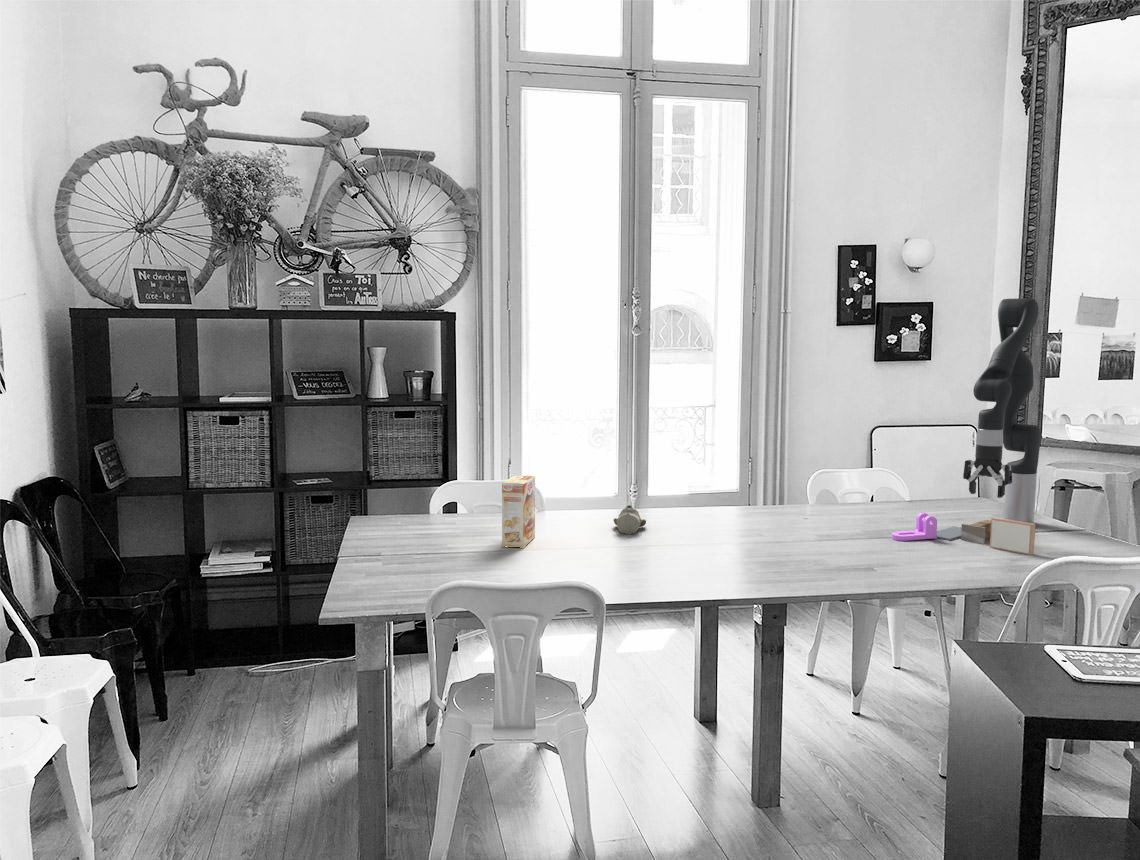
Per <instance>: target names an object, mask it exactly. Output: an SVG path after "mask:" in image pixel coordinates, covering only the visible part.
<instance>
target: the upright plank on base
mask: <svg viewBox="0 0 1140 860" xmlns="http://www.w3.org/2000/svg"><path fill="white" fill-rule="evenodd" d="M990 533H991V520H989V519H983V520H982V521H978V522H974V523H969V524H968V523H962V524H961V538H960V540H961V541H966V542H971V543H976V544H982V545H984V544H985V543H986V541H987V540H990Z"/></svg>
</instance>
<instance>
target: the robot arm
mask: <svg viewBox="0 0 1140 860" xmlns="http://www.w3.org/2000/svg"><path fill="white" fill-rule="evenodd" d="M1038 317H1039V305H1038V301H1036V299H1034V298H1030V297H1029V298H1028V297H1027V298H1026V297H1025V298H1024V297H1023V298H1022V297H1021V298H1004V299H1002V300H1001V301H1000V302H999V304H998V309H997V320H998V327H999V330H998V331H999V336H1000V337H999V338H1000V343H999V344H998V345H997V346H996V348H994V350H993V352H992V355H991V358H990V359H989V362H988V365H987V367H986V368H985V370H984V371H983V372H982V374H981V375H980V376H979V377H978V378H977V380H976V382H975V383H974V386H973V392H972V393H973V395H974V398H975V399H976V400H977V401H980V402H988V403H995V405H994V406H993V408H987V409H982V410H980V411H979V413H978V420H977V421H978V422H977V432H976V439H975V453H974V454H975V455H974V456H975V460H972V459H968V460H965V461H964V466H963V475H962V478H963V479H964V480H967V481H968V482H969V484H968V491H969V493H970V494H971V495H974V494H976V493H977V481H976V480H977V479H978V478H979V477H988V478H993V479H994V480H995V481H996V482H997V484H998V485H997V495H996V496H997V498H998V499H1001V498H1003V497H1004V500H1003V501H1004V503H1003V504H1004V506H1003V518H1002V519H1009V520H1015V521H1021V522H1027V523H1033V524H1035V509H1036V489H1037V474H1038V466H1039V457H1040V447H1041V439H1042V435H1041V433H1042V432H1041V429H1040V427H1039V426H1038V425H1035V424H1025V423H1018V421H1017V419H1018V412H1019V410H1020V408H1021V406H1022V405H1023V403H1024V402H1025V401H1026V399H1027V398H1028V397H1029V395H1030V394H1031V392H1032V390H1033V387H1034V382H1035V381H1034V366H1033V363H1032V361H1031V359H1029V356H1028V355H1027V354H1026V353H1025V351H1024V350H1023V349H1022V348H1023V346H1024V345H1025V343H1026V341H1027V340H1028V337H1029V336H1030V335H1031V333H1032V331H1033V329H1034V327H1035V325H1036V324H1037V320H1038V319H1039V318H1038ZM1014 328H1016V329H1014ZM1003 447H1004V449H1005V450H1007V451H1011V452H1017V453H1018V452H1020V453H1024V454H1023V455H1024V456H1023V457H1022V458H1020V459H1017V460H1014V461H1009V462H1007V463H1006V464H1003V463H1002V460H1003ZM973 467H975V471H973V473H972V469H973ZM1001 470H1002V471H1003V472H1004V475H1003V474H1002V473H1001Z"/></svg>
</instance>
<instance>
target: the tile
mask: <svg viewBox="0 0 1140 860" xmlns="http://www.w3.org/2000/svg"><path fill="white" fill-rule="evenodd" d="M990 519H991V520H990V521H991V533H990V539H989V548H990V549H996V550H1000V551H1007V552H1011V553H1018V554H1021V555H1027V556H1033V555H1034V554H1035V540H1036V539H1035V538H1036V523H1034V524H1033V523H1027V522H1021V521H1015V520H1009V519H1003V518H1002V517H996V516H994V517H991V518H990Z"/></svg>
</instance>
